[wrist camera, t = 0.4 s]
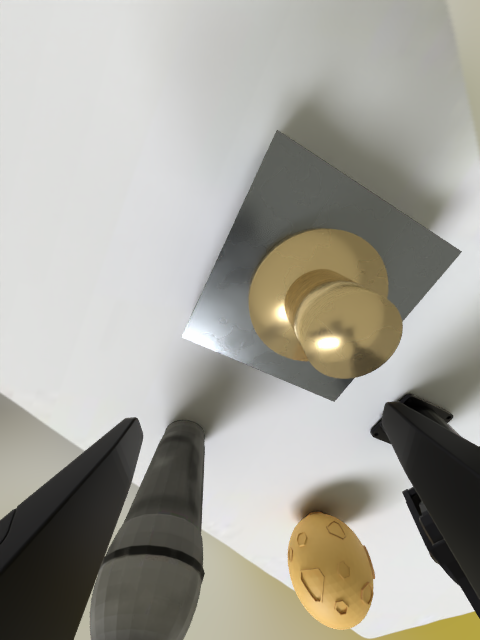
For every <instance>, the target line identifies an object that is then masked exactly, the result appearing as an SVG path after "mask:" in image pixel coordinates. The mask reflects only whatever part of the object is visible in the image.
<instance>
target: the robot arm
mask: <svg viewBox="0 0 480 640" xmlns="http://www.w3.org/2000/svg"><path fill="white" fill-rule="evenodd" d="M452 419H453V415H452V414H451V413H450V412H448V411H446V410H444V409H442V408H440V407H438V406H436V405H433V404H431V403H429V402H427V401H425V400H423V399H421V398H418V397H416V396H414V395H412V394H408V395H406V396H405V397H404V398H403V399H402V400H401V401H400V402H387V403H386V404H385V406H384V411H383V416H382V420H381V421H380V422H379V423H378V424H377V425H376V426H375V427H374V428H373V429H372V430H371V432H370V433H371V435H372V436H373V437H374V438H377V439H379V440H382V441H384V442H387V443H389V444H392V446H393V448H394V450H395V453H396V455H397V457H398V459H399V461H400V463H401V465H402V467H403V469H404V471H405V473H406V475H407V476H408V478H409V480H410V482H411V483H412V485H413V487H412V488H410V489H409V490H408V489H406V490H405V491H403V492H402V493H403V495H404V497H405V499H406V503H407V506H408V508H409V510H410V512H411V514H412V517H413V519H414V521H415V523H416V525H417V528H418V530H419V532H420V534H421V536H422V539H423V541H424V543H425V545H426V547H427V549H428V551H429V554H430V556H431V557H432V559H433V560H434V561H435V562H436V563H438V564H439V565H440V566H441V567H442V568H443V569H444V571H445V572H446V573H447V574H448V575H449V576H450V577H451V579H452V580H453V581H455V582H456V583H457V584H458V585H459V586H460V587H461V588H462V590H463V592H464V593H465V595H466V597H467V598H468V600H469V602H470V603H471V605H472V607H473V609H474V610H475V612H476V614H477V615H478V617H479V618H480V447H478V446H477V445H475V444H473V443H471V442H469V441H468V440H466V439H464V438H462V437H461V436H460V435H459V434H458V433H457V432H456V431H455V430H454V429H453V428H452V427H451V426H450V425H449V424H447V423H448V422H449V421H450V420H452ZM142 441H143V432H142V429H141V426H140V423H139V420H138V418H136V417H133V418H125V419H124V420H122V421H121V422H120V423H119V424H118V425H116V426H115V427H114V428H113V429H111V430H110V431H109V432H108V433H107V434H105V435H104V436H103V437H102V438H100V439H99V440H98V441H97V442H96V443H94V444H93V445H92V446H91V447H89V448H88V449H87V450H86V451H84V452H83V453H82V454H81V455H80V456H78V457H77V458H76V459H75V460H74V461H72V462H71V463H70V464H69V465H68V466H66V467H65V468H64V469H63V470H61V471H60V472H59V473H58V474H56V475H55V476H54V477H53V478H51V479H50V480H49V481H48V482H47V483H45V484H44V485H43V486H42V487H41V488H39V489H38V490H37V491H36V492H34V493H33V494H32V495H31V496H29V497H28V498H27V499H26V500H24V501H23V502H22V503H21V504H20V505H18V506H17V508H16V509H14V510H12V511H11V512H10V513H8V515H6V516H5V517H4V518H3V519H1V520H0V640H74V637H75V634H76V632H77V629H78V626H79V624H80V621H81V618H82V615H83V613H84V610H85V607H86V605H87V602H88V599H89V597H90V594H91V591H92V589H93V586H94V583H95V580H96V578H97V575H98V572H99V570H100V567H101V564H102V561H103V559H104V556H105V553H106V551H107V548H108V545H109V542H110V540H111V537H112V534H113V532H114V529H115V526H116V524H117V521H118V518H119V516H120V513H121V510H122V507H123V505H124V502H125V499H126V497H127V494H128V491H129V488H130V485H131V482H132V479H133V475H134V471H135V468H136V464H137V460H138V456H139V453H140V449H141V445H142Z"/></svg>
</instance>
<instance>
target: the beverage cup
mask: <svg viewBox="0 0 480 640" xmlns="http://www.w3.org/2000/svg"><path fill="white" fill-rule="evenodd" d="M204 437H205V434H204V431H203V429H202V428H201V427H200V426H199V425H198V424H196V423H194V422H191V421H186V420H182V421H176V422H173V423H172V424H170V425H169V426H168V427H167V429H166V431H165V434H164V435H163V437H162V439H161V441H160V443H159V445H158V447H157V449H156V452H155V454H154V456H153V458H152V461H151V463H150V465H149V467H148V470H147V472H146V474H145V476H144V479H143V481H142V483H141V485H140V488H139V490H138V492H137V494H136V497H135V499H134V501H133V503H132V506H131V508H130V510H129V513H128V515H127V517H126V519H125V521H124V524H123V525H122V527H121V528H120V530H119V531H118V533H117V535H116V536H115V538H114V540H113V542H112V544H111V546H110V547H109V549H108V552H107V554H106V556H105V557H104V559H103V561H102V564H101V567H100V570H99V572H98V577H97V579H96V583H95V586H94V590H93V594H92V599H91V608H90V635H91V640H183V639H184V637H185V635H186V633H187V631H188V628H189V626H190V623H191V621H192V618H193V615H194V612H195V610H196V606H197V603H198V599H199V595H200V588H201V584H202V581H203V577H204V574H205V573H204V570H203V547H202V546H203V544H202V536H201V524H202V501H203V478H204V455H205V446H204Z"/></svg>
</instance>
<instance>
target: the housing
mask: <svg viewBox="0 0 480 640" xmlns="http://www.w3.org/2000/svg"><path fill="white" fill-rule="evenodd" d="M315 228H329V229H337V230H343V231H347V232H350V233H353V234H355V235H357V236H359V237H361V238H363V239H364V240H365V241H367V242H368V243H369V244H370V245H371V246H372V247H373V248H374V249H375V250H376V251H377V252H378V254H379V255H380V257H381V259H382V261H383V263H384V265H385V268H386V271H387V276H388V297H387V299H388V300H389V301H390V302H391V303H393V304H394V305H395V307H396V308H397V309H398V311H399V313H400V315H401V319H402V322H403V320H404V319H405V318H406V317H407V316H408V314H409V313H410V312H411V311H412V310H413V309H414V307H415V306H416V305H417V304H418V303H419V302H420V300H421V299H422V298H423V297H424V296H425V294H426V293H427V292H428V291H429V290H430V289H431V287H432V286H433V285H434V284H435V283H436V282H437V280H438V279H439V278H440V277H441V276H442V274H443V273H444V272H445V271H446V270H447V269H448V267H449V266H450V265H451V264H452V263H453V262H454V260H455V259H456V258H457V257H458V256H459V255H460V253H461V252H462V251H460V250H459V249H457V248H456V247H454V246H452V245H451V244H449V243H448V242H446V241H445V240H443V239H442V238H440V237H439V236H437V235H436V234H434V233H433V232H431V231H430V230H428V229H427V228H425V227H424V226H422V225H421V224H419V223H418V222H416V221H415V220H413V219H412V218H410V217H409V216H407V215H406V214H404V213H402V212H401V211H399V210H398V209H396V208H395V207H393V206H392V205H390V204H389V203H387V202H386V201H384V200H383V199H381V198H380V197H378V196H377V195H375V194H374V193H372V192H371V191H369V190H368V189H366V188H365V187H363V186H362V185H360V184H359V183H357V182H356V181H354V180H352V179H351V178H349V177H348V176H346V175H345V174H343V173H342V172H340V171H339V170H337V169H336V168H334V167H333V166H331V165H330V164H328V163H327V162H325V161H324V160H322V159H321V158H319V157H318V156H316V155H315V154H313V153H312V152H310V151H309V150H307V149H306V148H304V147H302V146H301V145H299V144H298V143H296V142H295V141H293V140H292V139H290V138H289V137H287V136H286V135H284V134H283V133H281V132H280V131H278V130H277V131H276V133H275V136H274V138H273V140H272V142H271V144H270V146H269V149H268V151H267V153H266V155H265V157H264V159H263V162H262V164H261V166H260V168H259V170H258V172H257V175H256V177H255V179H254V181H253V183H252V185H251V188H250V190H249V192H248V194H247V196H246V198H245V201H244V203H243V205H242V207H241V209H240V211H239V214H238V216H237V218H236V220H235V222H234V224H233V227H232V229H231V231H230V233H229V235H228V237H227V240H226V242H225V244H224V246H223V248H222V250H221V253H220V255H219V257H218V259H217V261H216V263H215V266H214V268H213V270H212V272H211V274H210V276H209V279H208V281H207V283H206V285H205V287H204V289H203V291H202V294H201V296H200V298H199V300H198V302H197V304H196V307H195V309H194V311H193V313H192V315H191V317H190V320H189V322H188V324H187V326H186V328H185V331H184V333H183V335H182V338H185V339H187V340H189V341H192V342H194V343H197V344H199V345H201V346H204V347H206V348H208V349H211V350H213V351H216V352H218V353H220V354H223V355H225V356H227V357H230V358H232V359H234V360H237V361H239V362H242V363H244V364H246V365H249V366H251V367H253V368H256V369H258V370H260V371H263V372H265V373H268V374H270V375H272V376H275V377H277V378H279V379H282V380H284V381H286V382H289V383H291V384H294V385H296V386H298V387H301V388H303V389H305V390H308V391H310V392H313V393H315V394H317V395H320V396H322V397H324V398H327V399H329V400H331V401H334V402H335V400H336V399H337V398H338V397H339V396H340V394H341V393H342V392H343V391H344V390H345V389H346V387H347V386H348V385H349V384H350V383H351V382H352V380H353V379H354V378H348V379H340V378H333V377H329V376H327V375H324V374H322V373H320V372H319V371H318V370H316V369H315V368H314V367H313V366H312V364H311V363H310V362H309V361H298V360H293V359H289V358H286V357H284V356H281V355H280V354H278V353H276V352H274V351H273V350H271V349H270V348H269V347H268V346H267V345H266V344H264V343H263V341H262V340H261V339H260V338H259V336H258V335H257V333H256V331H255V329H254V327H253V324H252V322H251V318H250V313H249V305H248V291H249V285H250V281H251V278H252V275H253V273H254V271H255V269H256V267H257V265H258V264H259V262H260V260H261V259H262V258H263V257H264V255H265V254H266V253H267V252H268V251H269V250H270V249H271V248H272V247H273V246H274V245H276V244H277V243H278V242H280V241H281V240H283V239H284V238H286V237H288V236H290V235H292V234H295V233H297V232H300V231H304V230H308V229H315Z"/></svg>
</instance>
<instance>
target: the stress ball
mask: <svg viewBox="0 0 480 640" xmlns="http://www.w3.org/2000/svg"><path fill="white" fill-rule="evenodd" d="M288 566H289V573H290V577H291V580H292V584H293V587H294V589H295V591H296V593H297V595H298V597H299V599H300V601H301V603H302V604H303V605H304V607H305V608H306V609H307V611H308V612H309V613H310V614H311V615H312V616H313V617H314V618H315V619H317V620H318V621H319V622H321V623H322V624H324V625H326V626H328V627H330V628H334V629H340V630H344V629H349V628H352V627H354V626H356V625H357V624H359V623H360V622H361V621H362V620H363V619H364V618H365V616H366V614H367V612H368V611H369V608H370V605H371V602H372V598H373V579H375V574H374V569H373V566H372V562H371V559H370V556H369V554H368V551H367V549H366V547H365V546H363V545H362V544H361V542H360V540H359V539H358V537H357V536H356V535H355V533H354V532H353V531H352V530H351V529H350V528H349V527H348V526H347V525H346V524H345V523H343V522H342V521H341V520H339V519H337V518H336V517H333V516H331V515H328V514H323V513H322V512H311V513H309V514H308V515H307V517H305V518H303V519H302V520H301V521H300V522H299V523H298V524H297V526H296V527H295V528H294V530H293V533H292V535H291V538H290V541H289V546H288Z"/></svg>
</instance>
